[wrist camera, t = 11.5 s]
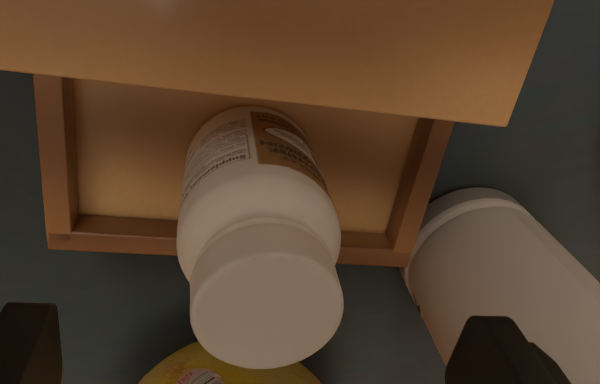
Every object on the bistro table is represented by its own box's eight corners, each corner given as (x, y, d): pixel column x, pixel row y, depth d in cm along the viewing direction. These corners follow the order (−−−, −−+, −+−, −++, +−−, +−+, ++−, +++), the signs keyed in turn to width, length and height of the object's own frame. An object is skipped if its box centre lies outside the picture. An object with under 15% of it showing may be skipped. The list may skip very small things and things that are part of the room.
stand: (384, 223, 22) (434, 318, 17) (71, 202, 20) (18, 307, 15) (471, -81, 17) (584, -74, 12) (50, -166, 14) (-47, -206, 9)
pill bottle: (334, 174, 19) (399, 326, 12) (235, 234, 19) (244, 410, 13) (267, 76, 16) (301, 195, 10) (159, 148, 17) (121, 305, 10)
